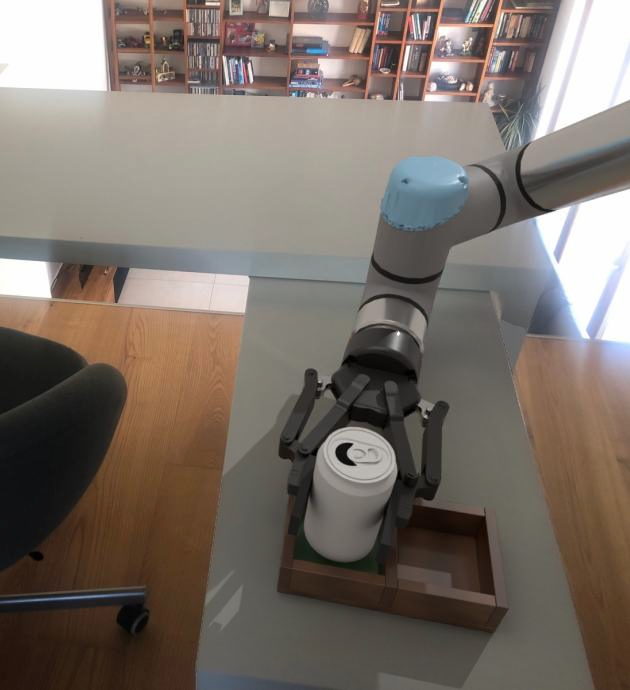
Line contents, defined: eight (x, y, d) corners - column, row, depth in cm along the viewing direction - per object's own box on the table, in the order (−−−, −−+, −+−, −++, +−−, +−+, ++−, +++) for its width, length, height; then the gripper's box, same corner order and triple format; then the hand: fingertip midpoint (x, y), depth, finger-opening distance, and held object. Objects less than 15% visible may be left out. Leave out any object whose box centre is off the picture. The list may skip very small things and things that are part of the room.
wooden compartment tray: (482, 535, 66) (495, 509, 63) (494, 633, 59) (509, 609, 56) (287, 502, 70) (291, 476, 67) (276, 591, 63) (280, 566, 60)
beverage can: (300, 504, 66) (315, 420, 58) (369, 507, 65) (393, 423, 57) (305, 565, 61) (321, 484, 53) (379, 569, 61) (407, 487, 53)
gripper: (474, 402, 70) (452, 604, 55) (288, 356, 76) (220, 528, 60) (495, 348, 65) (478, 553, 50) (294, 303, 71) (222, 476, 55)
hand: (337, 539), depth 55 cm, fingers closed on beverage can, 6 cm apart
